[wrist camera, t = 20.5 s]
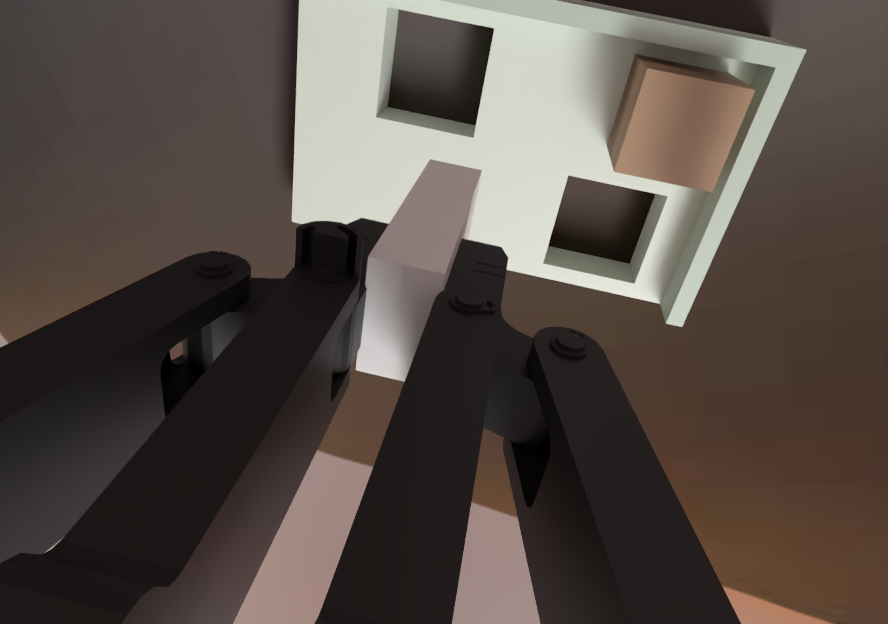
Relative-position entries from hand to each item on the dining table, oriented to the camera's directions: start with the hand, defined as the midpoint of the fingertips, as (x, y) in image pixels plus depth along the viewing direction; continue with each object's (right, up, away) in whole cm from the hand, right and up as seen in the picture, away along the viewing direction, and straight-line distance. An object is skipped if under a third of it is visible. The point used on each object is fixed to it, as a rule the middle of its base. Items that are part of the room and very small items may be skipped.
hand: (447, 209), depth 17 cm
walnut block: (+12, +8, +16) cm, 21 cm away
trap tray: (+4, +8, +21) cm, 23 cm away
